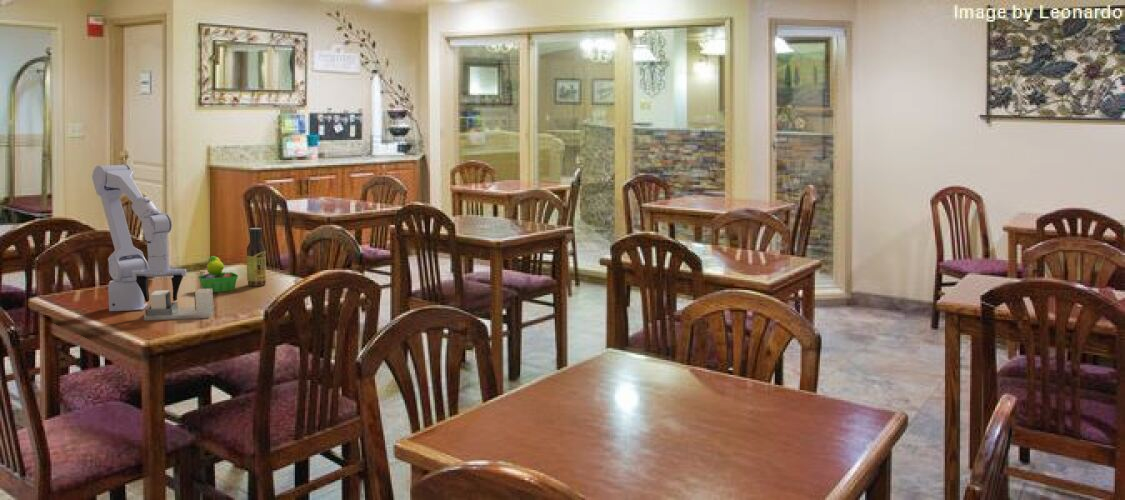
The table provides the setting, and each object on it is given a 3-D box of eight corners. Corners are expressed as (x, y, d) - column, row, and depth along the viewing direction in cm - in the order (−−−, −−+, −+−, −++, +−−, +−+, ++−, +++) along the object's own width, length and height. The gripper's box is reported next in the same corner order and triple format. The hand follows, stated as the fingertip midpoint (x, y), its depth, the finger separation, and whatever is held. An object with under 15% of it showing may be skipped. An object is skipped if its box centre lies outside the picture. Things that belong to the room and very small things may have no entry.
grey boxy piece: (144, 320, 264) (142, 296, 263) (151, 312, 274) (149, 289, 273) (209, 317, 268) (208, 294, 267) (214, 310, 278) (213, 287, 277)
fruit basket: (204, 294, 300) (202, 260, 298) (197, 289, 307) (195, 256, 306) (239, 290, 307) (237, 257, 305) (231, 286, 314) (230, 253, 312)
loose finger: (151, 314, 266) (150, 294, 265) (156, 310, 272) (155, 290, 271) (167, 314, 267) (166, 294, 266) (171, 309, 273) (170, 290, 272)
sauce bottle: (260, 287, 312) (258, 230, 309) (243, 286, 313) (241, 229, 310) (270, 283, 318) (268, 227, 315) (253, 282, 319) (251, 226, 316)
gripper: (128, 258, 262) (131, 304, 264) (182, 257, 265) (185, 302, 267) (134, 254, 268) (137, 299, 271) (186, 253, 272) (189, 297, 274)
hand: (161, 300), depth 269 cm, fingers open, 7 cm apart
